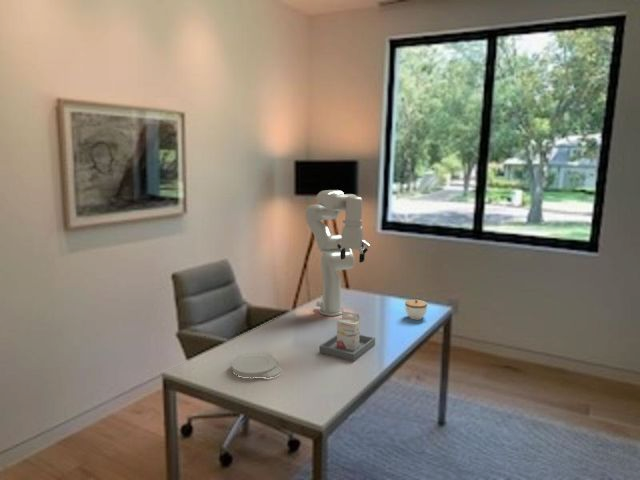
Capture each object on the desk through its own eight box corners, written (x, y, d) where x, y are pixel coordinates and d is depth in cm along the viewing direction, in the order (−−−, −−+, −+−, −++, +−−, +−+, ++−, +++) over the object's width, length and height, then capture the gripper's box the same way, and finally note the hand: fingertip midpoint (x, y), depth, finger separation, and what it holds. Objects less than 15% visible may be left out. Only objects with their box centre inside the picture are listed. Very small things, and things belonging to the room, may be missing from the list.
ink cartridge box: (336, 347, 204) (336, 313, 201) (341, 343, 208) (341, 310, 206) (355, 351, 200) (355, 317, 197) (359, 346, 205) (360, 313, 202)
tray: (319, 352, 200) (319, 345, 199) (342, 337, 217) (342, 330, 216) (353, 361, 192) (354, 354, 191) (375, 344, 209) (375, 337, 208)
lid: (263, 386, 172) (263, 378, 171) (221, 373, 182) (221, 365, 181) (291, 368, 186) (291, 361, 186) (251, 356, 196) (251, 349, 196)
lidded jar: (429, 316, 244) (430, 298, 242) (421, 322, 235) (422, 304, 233) (409, 312, 250) (410, 295, 248) (401, 318, 241) (402, 300, 239)
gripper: (332, 222, 221) (331, 259, 224) (366, 227, 212) (365, 264, 215) (340, 220, 227) (340, 256, 231) (374, 224, 218) (372, 261, 222)
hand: (352, 260), depth 223 cm, fingers open, 9 cm apart
